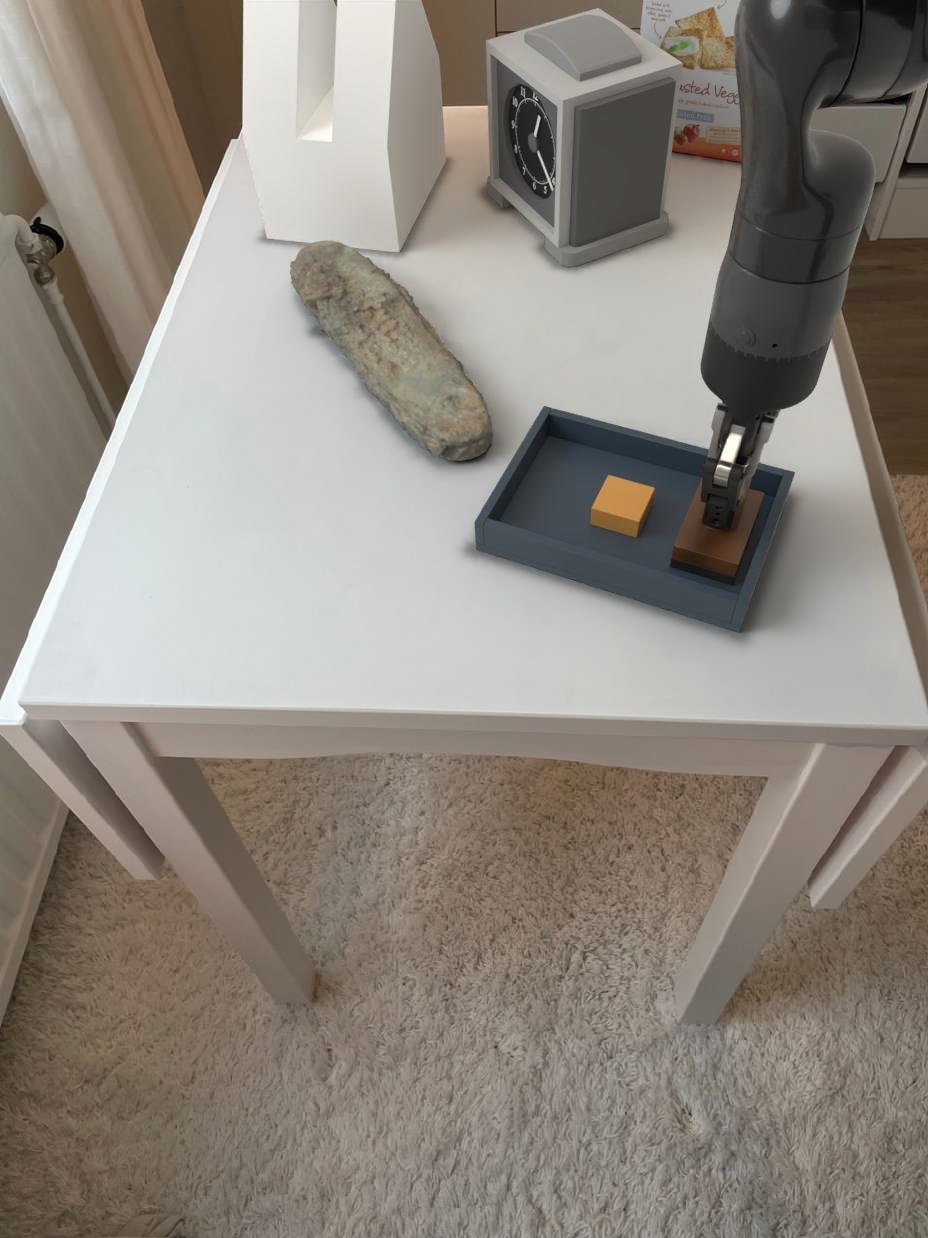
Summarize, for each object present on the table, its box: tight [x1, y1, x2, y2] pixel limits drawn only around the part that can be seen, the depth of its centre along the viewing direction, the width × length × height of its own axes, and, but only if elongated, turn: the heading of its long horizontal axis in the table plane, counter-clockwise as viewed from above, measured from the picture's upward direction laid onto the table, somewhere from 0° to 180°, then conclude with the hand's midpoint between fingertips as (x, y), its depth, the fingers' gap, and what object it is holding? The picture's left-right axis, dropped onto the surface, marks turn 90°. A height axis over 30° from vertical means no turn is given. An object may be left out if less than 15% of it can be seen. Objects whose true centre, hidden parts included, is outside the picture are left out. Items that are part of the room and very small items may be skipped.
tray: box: [473, 405, 796, 633], centre depth 77 cm, size 22×15×3 cm
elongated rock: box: [289, 240, 494, 462], centre depth 91 cm, size 35×5×10 cm
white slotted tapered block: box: [241, 0, 447, 254], centre depth 100 cm, size 19×15×25 cm
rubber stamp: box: [670, 454, 765, 585], centre depth 72 cm, size 5×8×8 cm, turn 156°
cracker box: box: [639, 0, 741, 163], centre depth 105 cm, size 14×6×21 cm, turn 68°
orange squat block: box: [590, 475, 655, 538], centre depth 77 cm, size 4×4×2 cm
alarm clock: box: [485, 7, 683, 268], centre depth 99 cm, size 18×13×18 cm
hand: (723, 508), depth 73 cm, fingers closed on rubber stamp, 3 cm apart
